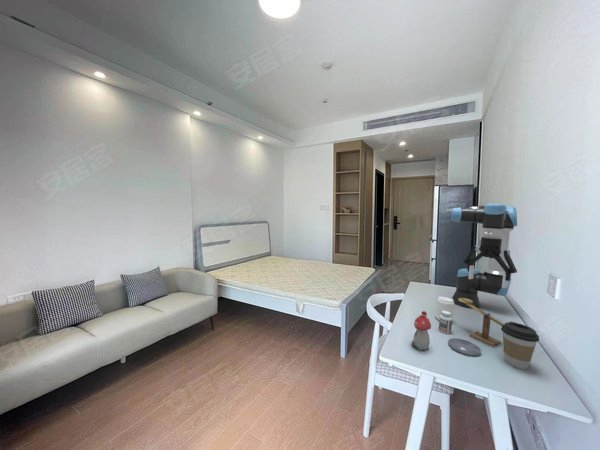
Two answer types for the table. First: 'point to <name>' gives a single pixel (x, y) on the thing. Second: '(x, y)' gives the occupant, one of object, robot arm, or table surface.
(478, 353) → the flat grey disc
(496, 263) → the robot arm
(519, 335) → the coffee cup
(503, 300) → the table surface
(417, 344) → the decorative ornament
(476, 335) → the balance
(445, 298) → the beverage can
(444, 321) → the pill bottle
